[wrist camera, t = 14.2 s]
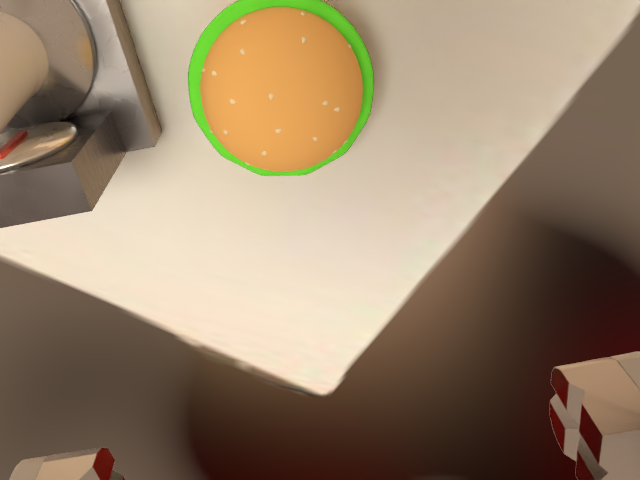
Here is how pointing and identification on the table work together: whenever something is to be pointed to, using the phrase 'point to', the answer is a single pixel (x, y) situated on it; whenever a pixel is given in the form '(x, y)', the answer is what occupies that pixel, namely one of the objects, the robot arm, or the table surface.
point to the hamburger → (281, 85)
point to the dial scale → (74, 111)
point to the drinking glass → (19, 66)
